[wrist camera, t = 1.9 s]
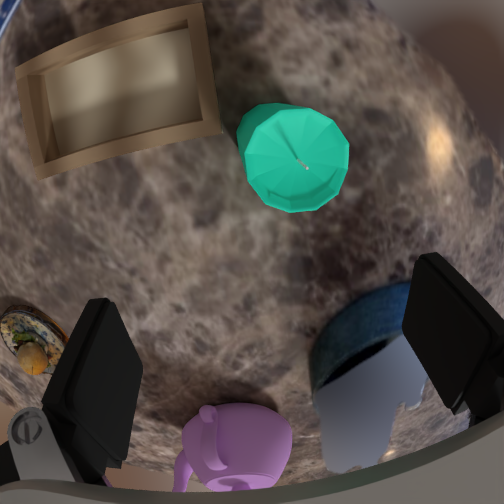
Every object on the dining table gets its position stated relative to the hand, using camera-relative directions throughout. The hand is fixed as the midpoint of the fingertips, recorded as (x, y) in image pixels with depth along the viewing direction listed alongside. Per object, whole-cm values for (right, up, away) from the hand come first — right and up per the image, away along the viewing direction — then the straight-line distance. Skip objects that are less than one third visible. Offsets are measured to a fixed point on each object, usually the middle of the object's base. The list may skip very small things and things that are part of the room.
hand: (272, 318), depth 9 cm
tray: (-12, +16, +13) cm, 23 cm away
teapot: (-5, -26, +37) cm, 46 cm away
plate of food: (-30, -10, +25) cm, 41 cm away
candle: (+1, +12, +17) cm, 20 cm away
